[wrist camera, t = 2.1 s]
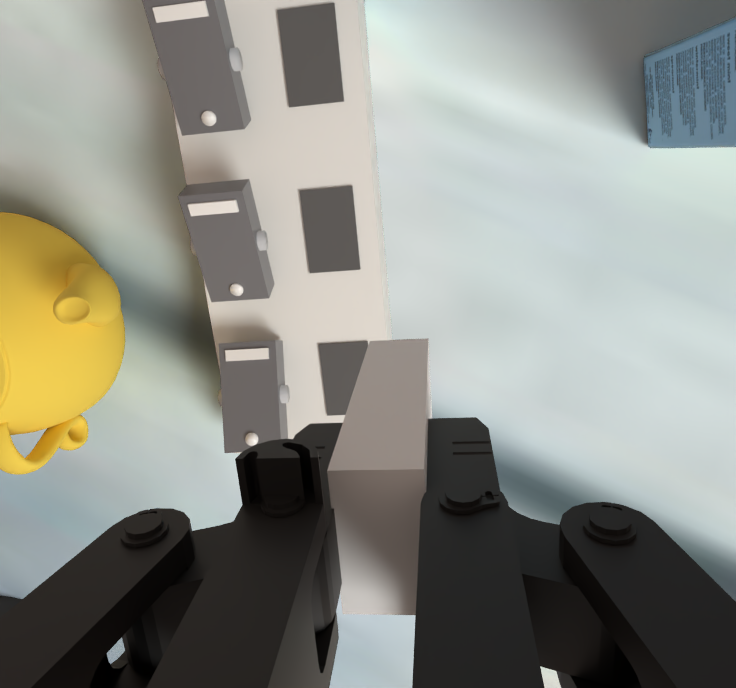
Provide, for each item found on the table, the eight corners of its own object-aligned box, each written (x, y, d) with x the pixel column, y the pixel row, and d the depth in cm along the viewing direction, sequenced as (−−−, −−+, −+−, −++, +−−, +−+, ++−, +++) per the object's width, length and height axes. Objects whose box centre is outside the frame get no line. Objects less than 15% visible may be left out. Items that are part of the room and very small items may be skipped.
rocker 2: (213, 288, 34) (205, 303, 33) (181, 185, 31) (171, 198, 29) (279, 283, 34) (274, 299, 32) (255, 178, 30) (247, 191, 29)
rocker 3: (229, 448, 35) (218, 453, 33) (223, 343, 35) (212, 343, 33) (293, 445, 34) (286, 450, 33) (287, 339, 35) (280, 339, 33)
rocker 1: (185, 127, 31) (175, 137, 30) (147, -6, 28) (133, -1, 27) (257, 119, 31) (249, 129, 30) (227, -16, 28) (217, -12, 26)
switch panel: (248, 428, 41) (227, 460, 37) (175, -9, 33) (138, -31, 29) (399, 421, 40) (395, 454, 35) (361, -35, 32) (350, -62, 28)
